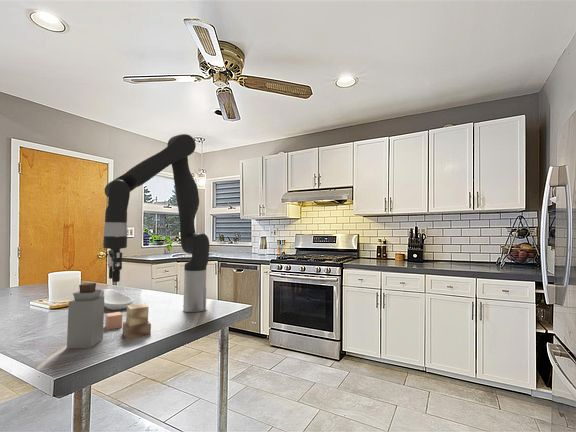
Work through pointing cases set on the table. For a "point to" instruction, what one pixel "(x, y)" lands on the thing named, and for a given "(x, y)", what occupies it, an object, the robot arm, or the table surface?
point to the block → (113, 320)
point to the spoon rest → (115, 299)
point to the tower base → (136, 330)
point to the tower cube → (137, 314)
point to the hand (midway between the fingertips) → (114, 280)
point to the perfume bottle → (85, 317)
